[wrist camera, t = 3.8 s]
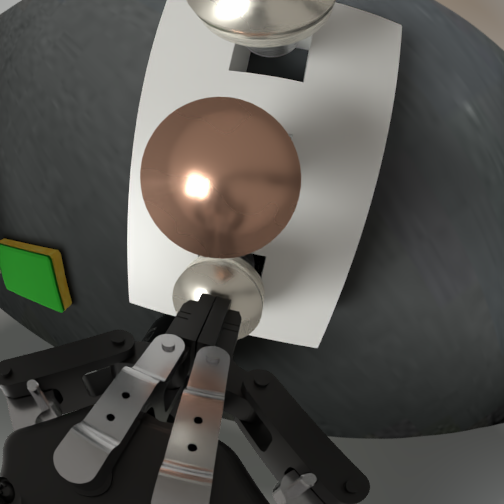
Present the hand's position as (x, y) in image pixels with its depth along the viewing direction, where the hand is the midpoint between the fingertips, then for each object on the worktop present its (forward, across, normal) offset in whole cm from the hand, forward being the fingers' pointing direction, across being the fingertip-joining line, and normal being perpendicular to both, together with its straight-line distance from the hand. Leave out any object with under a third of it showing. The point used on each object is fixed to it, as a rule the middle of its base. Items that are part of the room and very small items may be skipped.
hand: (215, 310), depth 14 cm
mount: (+8, 0, -7) cm, 11 cm away
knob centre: (+2, 0, -7) cm, 7 cm away
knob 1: (+2, 0, -14) cm, 14 cm away
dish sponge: (+9, +26, +9) cm, 29 cm away
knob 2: (+6, 0, 0) cm, 6 cm away
